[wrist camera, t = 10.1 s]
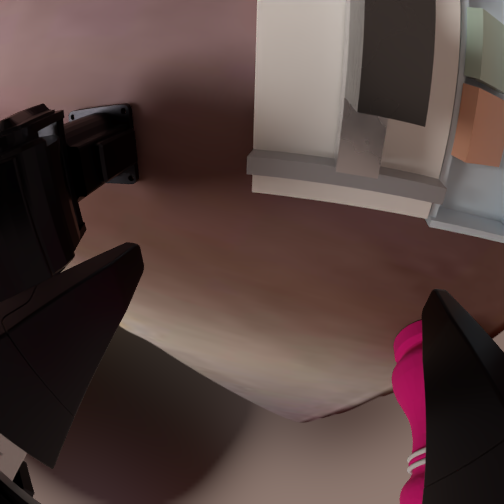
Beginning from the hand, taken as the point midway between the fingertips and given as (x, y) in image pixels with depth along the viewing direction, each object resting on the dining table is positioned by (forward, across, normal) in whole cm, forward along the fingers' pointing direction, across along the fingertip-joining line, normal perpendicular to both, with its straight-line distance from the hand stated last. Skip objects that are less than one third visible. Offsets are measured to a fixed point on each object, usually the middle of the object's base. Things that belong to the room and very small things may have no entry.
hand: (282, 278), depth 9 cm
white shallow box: (+13, -2, -7) cm, 15 cm away
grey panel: (+10, -2, -7) cm, 12 cm away
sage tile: (+12, -11, -10) cm, 18 cm away
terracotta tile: (+12, -11, -4) cm, 16 cm away
